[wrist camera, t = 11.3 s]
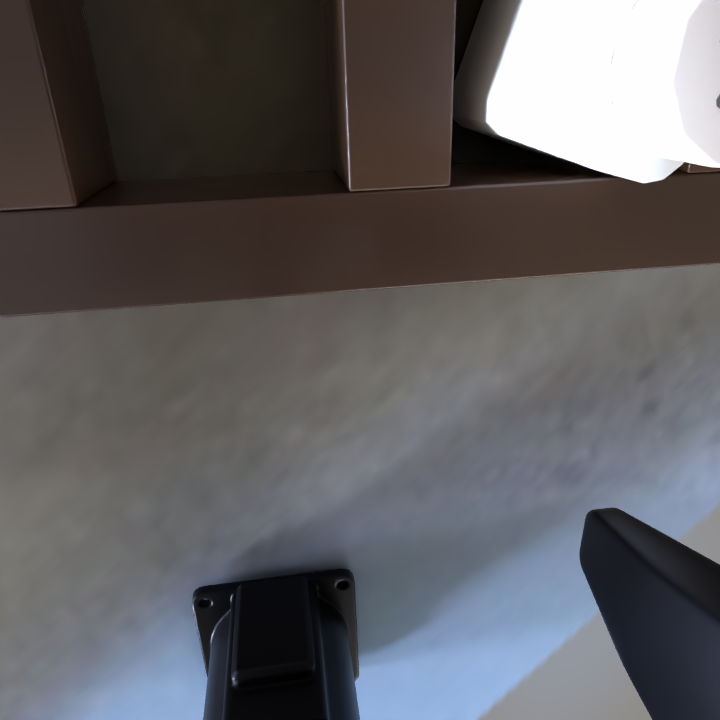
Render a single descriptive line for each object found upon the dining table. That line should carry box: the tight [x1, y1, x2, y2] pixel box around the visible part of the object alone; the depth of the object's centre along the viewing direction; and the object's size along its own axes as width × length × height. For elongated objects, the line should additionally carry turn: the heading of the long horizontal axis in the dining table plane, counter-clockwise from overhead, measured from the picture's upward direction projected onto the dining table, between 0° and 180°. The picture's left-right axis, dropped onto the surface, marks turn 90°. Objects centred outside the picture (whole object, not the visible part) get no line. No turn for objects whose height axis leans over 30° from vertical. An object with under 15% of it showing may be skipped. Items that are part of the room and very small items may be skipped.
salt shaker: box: [453, 0, 720, 183], centre depth 13 cm, size 4×4×10 cm
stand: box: [0, 0, 720, 317], centre depth 15 cm, size 11×20×4 cm, turn 92°
